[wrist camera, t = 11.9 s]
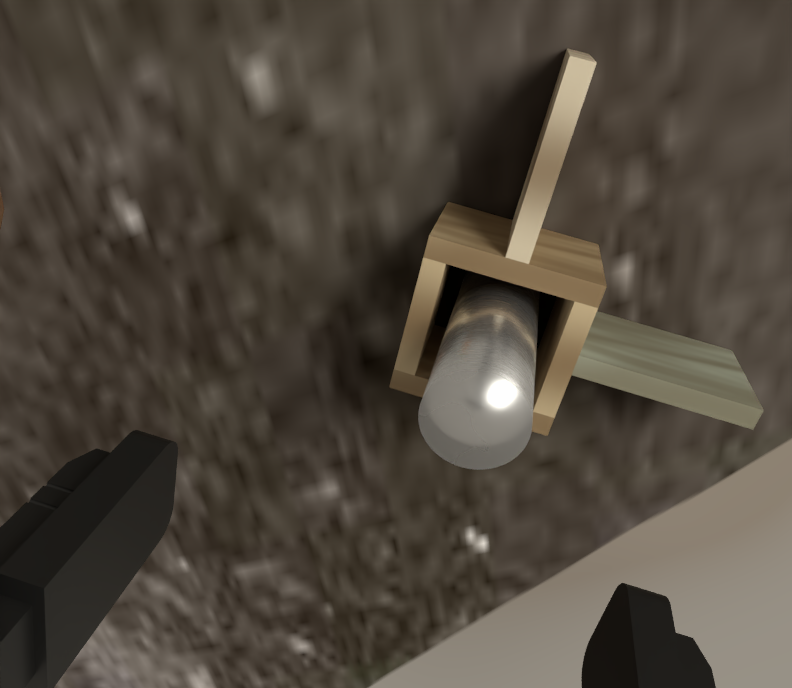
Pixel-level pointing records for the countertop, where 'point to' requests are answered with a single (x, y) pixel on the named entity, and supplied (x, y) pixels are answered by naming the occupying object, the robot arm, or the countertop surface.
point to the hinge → (565, 296)
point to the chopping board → (1, 209)
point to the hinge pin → (483, 375)
